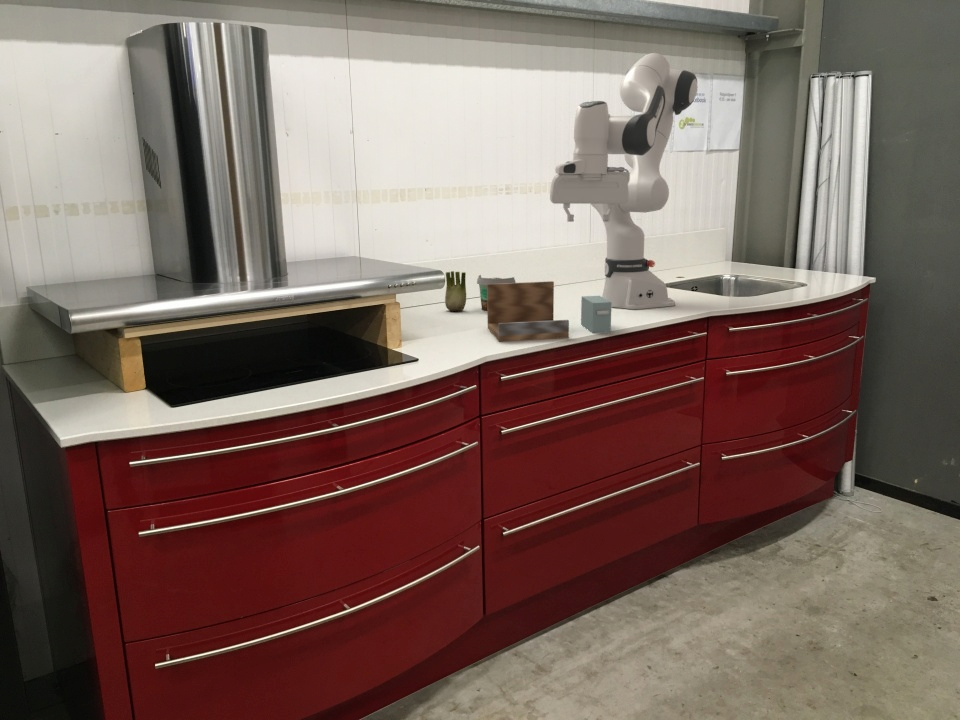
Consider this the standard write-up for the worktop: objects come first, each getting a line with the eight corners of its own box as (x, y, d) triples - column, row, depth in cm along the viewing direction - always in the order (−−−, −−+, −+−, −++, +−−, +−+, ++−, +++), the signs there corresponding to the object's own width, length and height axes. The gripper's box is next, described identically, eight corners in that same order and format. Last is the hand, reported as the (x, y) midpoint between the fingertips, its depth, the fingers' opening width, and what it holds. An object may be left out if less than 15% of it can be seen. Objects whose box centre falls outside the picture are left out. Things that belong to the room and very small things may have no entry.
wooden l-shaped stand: (552, 324, 216) (552, 281, 213) (568, 337, 201) (569, 291, 198) (487, 328, 213) (487, 284, 210) (499, 341, 198) (498, 294, 195)
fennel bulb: (468, 310, 238) (467, 270, 235) (459, 313, 234) (458, 272, 231) (451, 308, 241) (450, 269, 238) (442, 311, 237) (441, 271, 234)
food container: (469, 310, 237) (469, 277, 235) (479, 307, 243) (479, 274, 240) (506, 314, 232) (506, 280, 229) (515, 310, 237) (515, 277, 235)
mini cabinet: (598, 324, 216) (599, 295, 214) (612, 333, 206) (612, 302, 204) (581, 325, 216) (581, 296, 214) (593, 334, 205) (594, 303, 203)
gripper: (627, 167, 207) (624, 220, 210) (549, 166, 206) (548, 220, 209) (633, 167, 201) (630, 222, 204) (553, 166, 200) (551, 222, 203)
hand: (588, 221), depth 207 cm, fingers open, 8 cm apart
